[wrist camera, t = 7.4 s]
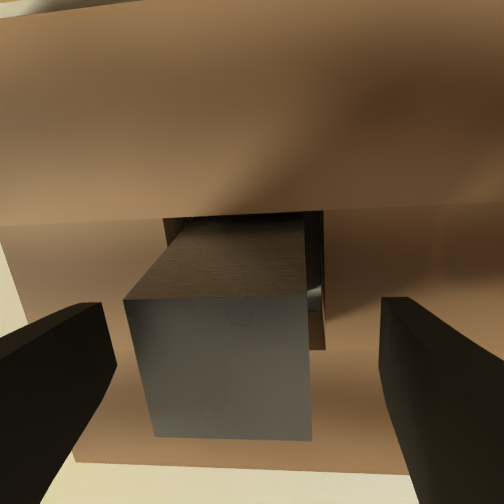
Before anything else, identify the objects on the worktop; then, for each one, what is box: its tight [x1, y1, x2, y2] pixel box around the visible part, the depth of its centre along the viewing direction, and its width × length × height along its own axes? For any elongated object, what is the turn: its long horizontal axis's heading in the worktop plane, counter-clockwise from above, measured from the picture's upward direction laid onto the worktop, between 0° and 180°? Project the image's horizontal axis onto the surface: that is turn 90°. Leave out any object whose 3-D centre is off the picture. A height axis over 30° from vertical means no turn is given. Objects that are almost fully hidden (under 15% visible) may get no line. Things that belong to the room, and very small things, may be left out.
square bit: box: [123, 211, 312, 441], centre depth 11 cm, size 4×4×7 cm
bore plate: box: [0, 0, 504, 475], centre depth 13 cm, size 16×16×2 cm
